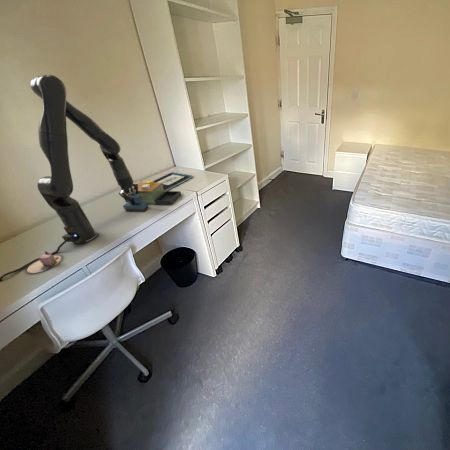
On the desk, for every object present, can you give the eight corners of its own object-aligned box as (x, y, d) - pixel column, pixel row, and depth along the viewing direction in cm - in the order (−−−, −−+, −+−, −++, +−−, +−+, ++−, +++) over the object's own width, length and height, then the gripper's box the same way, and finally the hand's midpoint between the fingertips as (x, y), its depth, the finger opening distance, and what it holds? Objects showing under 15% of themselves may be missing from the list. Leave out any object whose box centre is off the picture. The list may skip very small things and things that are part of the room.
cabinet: (155, 204, 159) (150, 191, 154) (131, 204, 161) (126, 191, 156) (166, 195, 171) (162, 182, 165) (144, 194, 172) (139, 182, 167)
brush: (149, 207, 157) (144, 194, 152) (144, 211, 152) (139, 198, 148) (130, 207, 158) (125, 194, 153) (125, 211, 154) (119, 198, 149)
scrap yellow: (149, 186, 161) (148, 183, 160) (145, 185, 163) (144, 182, 161) (154, 183, 164) (153, 180, 163) (150, 182, 166) (149, 180, 164)
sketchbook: (139, 189, 180) (138, 186, 179) (172, 173, 203) (172, 171, 202) (162, 193, 173) (161, 190, 172) (193, 177, 196) (193, 174, 195)
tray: (171, 204, 159) (169, 200, 157) (155, 204, 160) (154, 200, 158) (181, 195, 170) (180, 191, 168) (167, 195, 171) (165, 191, 169)
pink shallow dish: (68, 255, 119) (62, 248, 117) (45, 273, 109) (38, 266, 107) (44, 255, 120) (38, 247, 118) (19, 273, 110) (12, 265, 108)
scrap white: (148, 189, 157) (147, 186, 156) (142, 190, 156) (141, 187, 155) (150, 187, 160) (149, 184, 159) (144, 187, 160) (143, 184, 159)
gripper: (125, 171, 150) (136, 197, 159) (107, 181, 138) (121, 209, 148) (137, 171, 149) (147, 198, 158) (120, 181, 137) (133, 209, 147)
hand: (134, 203), depth 153 cm, fingers closed on brush, 2 cm apart
